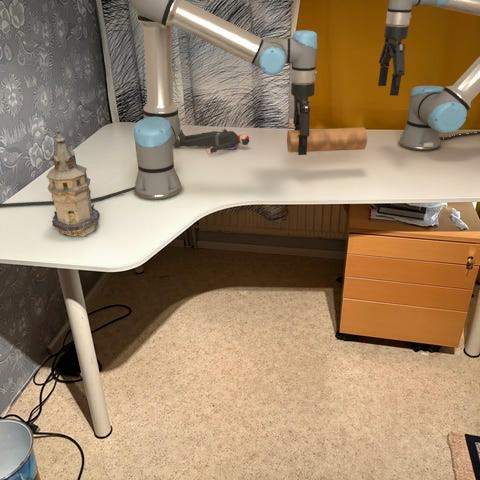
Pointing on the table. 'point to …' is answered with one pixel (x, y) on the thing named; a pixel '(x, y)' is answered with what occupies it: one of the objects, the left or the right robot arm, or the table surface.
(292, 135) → the rod
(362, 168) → the table surface
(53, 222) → the miniature building
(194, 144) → the toy
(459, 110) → the right robot arm
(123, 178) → the table surface
